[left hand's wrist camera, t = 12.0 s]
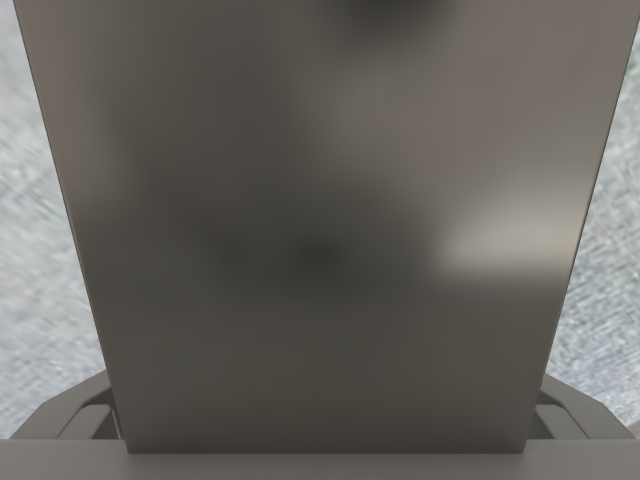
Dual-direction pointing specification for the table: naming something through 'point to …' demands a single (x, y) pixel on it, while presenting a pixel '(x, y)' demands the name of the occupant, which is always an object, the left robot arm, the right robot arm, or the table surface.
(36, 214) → the table surface
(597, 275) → the table surface
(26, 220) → the table surface
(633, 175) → the table surface
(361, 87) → the bar
